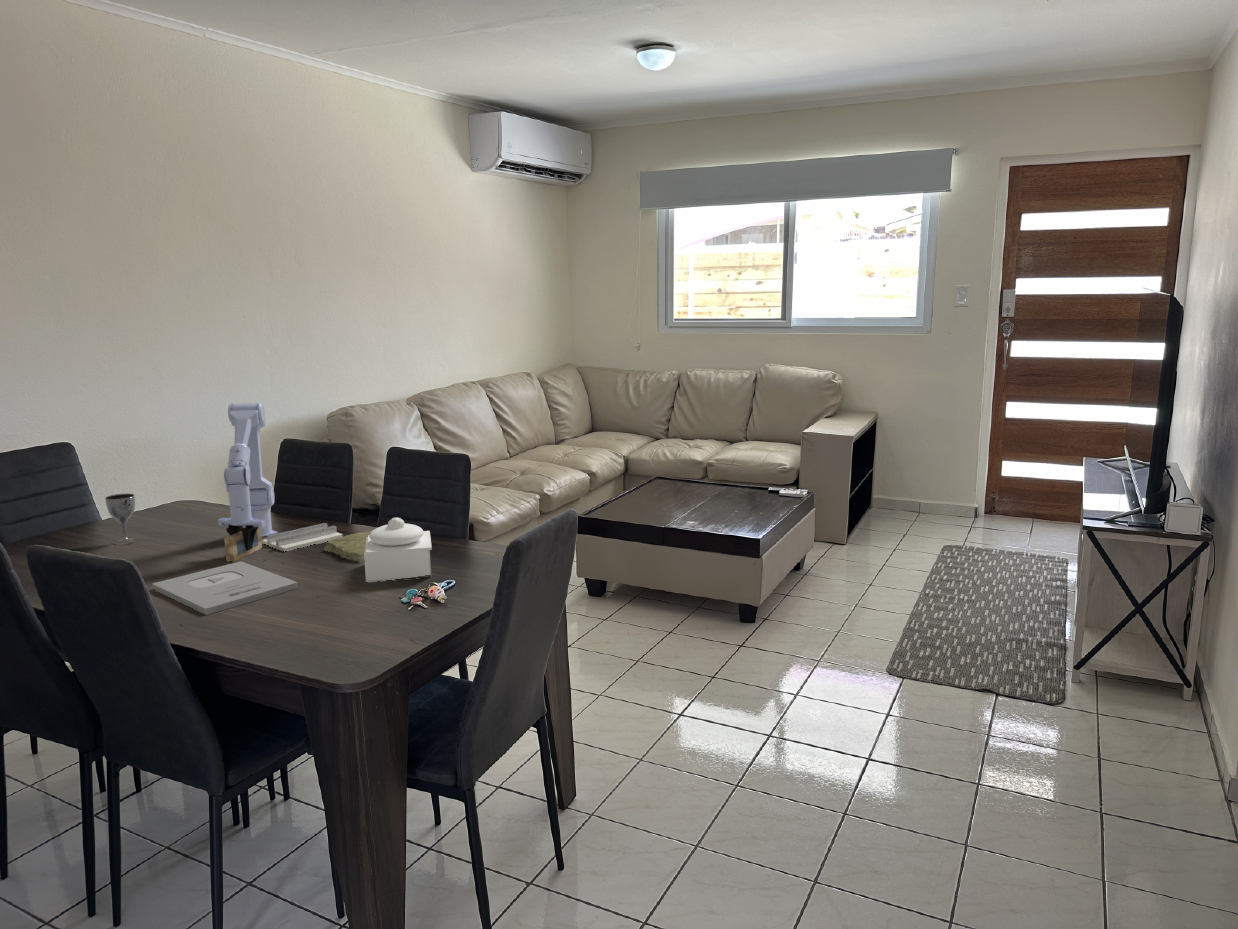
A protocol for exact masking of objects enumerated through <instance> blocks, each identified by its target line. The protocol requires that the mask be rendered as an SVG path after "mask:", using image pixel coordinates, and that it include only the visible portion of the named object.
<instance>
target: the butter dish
mask: <svg viewBox="0 0 1238 929" xmlns="http://www.w3.org/2000/svg"><path fill="white" fill-rule="evenodd" d="M371 531H372V532H371V533H370V535H368V537H366V546H365V553H364V560H365V562H364V572H365V583H366V582H368V583H376V582H377V581H380V582H387V581H386V580H392V581H396V580H395V579H401V578H411V577H418V576H425V575H431V576H432V567H431V565H432V564H431V551H432V550H433V548H432V539H431V538H432V537H431V532H430V531H431V530H423V528H422V527H420V526H418V525H416V524H411V523H405V521H404V520H403V519H402V518H401V517H392V518H391V519H390V520H389V521H388V522H387V524H384V525H381V526H379V527H376V528H375V529H373V530H371ZM377 583H378V582H377Z"/></svg>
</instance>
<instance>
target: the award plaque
mask: <svg viewBox="0 0 1238 929" xmlns="http://www.w3.org/2000/svg"><path fill="white" fill-rule="evenodd" d="M151 588H152V590H153V589H156V590H157V591H158V592H157V591H156V592H157V593H159V592H161V593H162V594H161V593H160V594H161V595H163V594H164V595H163V596H165V595H166V596H165V597H167V596H168V598H169V597H170V599H171V598H172V600H173V599H175V600H174V601H175V602H177V603H180V602H181V603H180V604H182V603H183V605H185V606H186V607H188V606H189V607H188V608H190V607H191V609H192V608H193V610H195V611H197V612H198V613H201V614H203V615H205V616H209V615H212V614H215V613H218V612H222V611H224V610H225V611H226V610H228V609H232V608H235V607H239V606H242V605H245V604H249V603H252V602H255V601H259V600H262V599H263V600H264V599H266V598H269V597H272V596H275V595H279V594H282V593H287V592H290V591H293V590H296V589H299V584H298V582H297V581H295V580H293V579H290V578H287V577H284V576H281V575H279V574H278V573H277V574H276V573H274V572H271V571H269V570H265V569H263V568H260V567H258V566H255V565H252V564H250V563H246V562H244V561H243V560H242V561H235V562H232V563H227V564H226V565H221V566H217V567H212V568H208V569H204V570H201V571H197V572H193V573H192V572H191V573H189V574H185V575H184V574H183V575H182V576H181V575H180V576H178V577H173V578H169V579H165V580H162V581H156V582H153V583H151Z"/></svg>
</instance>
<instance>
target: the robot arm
mask: <svg viewBox="0 0 1238 929" xmlns="http://www.w3.org/2000/svg"><path fill="white" fill-rule="evenodd" d="M265 413H266V412H265V406H264V404H263V403H262V402H250V403H240V402H239V403H233V402H232V403H229V405H228V408H227V415H228V420H229V422H230V424H231V426H233V427H234V444H233V445H232V446H230V448H229V455H228V463H227V468H225V469H224V471H223V479H224V480H223V481H224V484H225V487H226V488H225V489H226V493H228V501H229V511H230V512H229V513H230V517H221V518H219V519H217V522H218V523H217V524H218V526H219V527H220V526H221V527H223V526H228V527H226V533H227V534H229V536H231V535H233V534H236V533H238V532H240V531H242V534H243V536H244V540H245V548H246V550H250V549H252V546H253V540H254V537H255V534H256V531H257V529H258V527H259V528H261V538H262V537H267V536H269V535H273V534H278V531H275V530H273V527H272V515H271V507H272V506H273V505H274V504H275V491H274V486H273V484H272V483H273V482H271V481H269V480H268V479H267V478H265V477H264V476H263V463H262V451H261V450H262V449H261V438H260V436H261V434H260V432H261V429H262V428H263V427H265V426H266V414H265Z"/></svg>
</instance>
